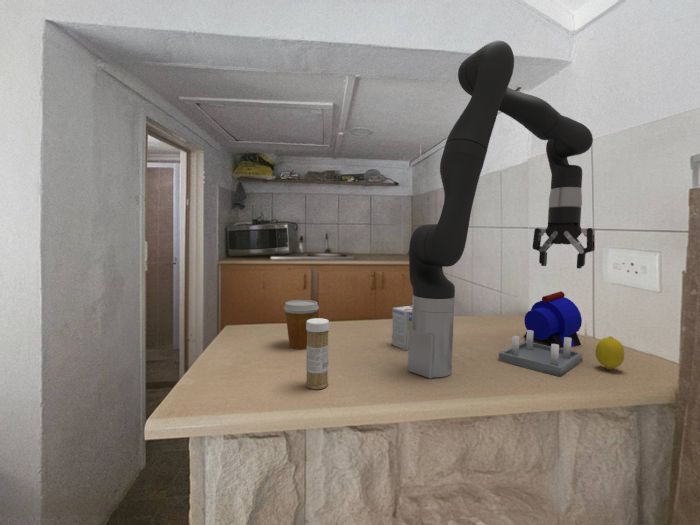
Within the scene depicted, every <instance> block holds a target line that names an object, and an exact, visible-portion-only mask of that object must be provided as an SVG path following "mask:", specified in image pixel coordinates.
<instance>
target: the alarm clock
mask: <svg viewBox="0 0 700 525" xmlns="http://www.w3.org/2000/svg"><path fill="white" fill-rule="evenodd" d="M565 296H566V294H565V292H563V291H561V290H559V291H558V292H554V293H551V294H547V295H544V296H542V297H541V300H539V301H537V302H535V303H534V304H533V305H532V306H531V308H530V310H528V311H527V312H526V313H525V316H524V326H525V329H526V331H525V334H524V335H523V338H527V330H532V331H534V333H533V339H536V340H537V341H543V340H546V341H548V342H549V343H550V344H558V345H559V348H560V349H563V348H564V337H569V338H572V341H571V348H572V347H580V346H579V345H581V346H582V343H581V341H580V338H579V336H578V332H579V331H580V329H581V327H582V321H583V319H582V314H581V312H580V311H581V310H579V308H578V306H577V305H576V303H574V301H572V300H571V299H569V298H568V297H565Z"/></svg>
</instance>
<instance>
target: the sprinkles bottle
mask: <svg viewBox="0 0 700 525" xmlns="http://www.w3.org/2000/svg"><path fill="white" fill-rule="evenodd" d="M306 330H307V349H306V358H305V359H306V360H305V363H306V364H305V366H306V368H305V370H306V382H305V385H306V387H307V388H309V389H312V390H323V389H325V388H326V387H327V386H328V385H329V381H328V377H329V376H328V374H329V373H328V372H329V371H328V370H329V331H330V321H329V319H327V318H321V317H318V318H317V317H316V318H314V319H309V320H307V322H306Z"/></svg>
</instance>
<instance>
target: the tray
mask: <svg viewBox="0 0 700 525" xmlns="http://www.w3.org/2000/svg"><path fill="white" fill-rule="evenodd" d="M526 332H527V337H526V340H524V341H523V342H520V336H519V335H512V337H511V341H512V342H511V346H510V347H509V348H506V349H504V350H502V351H499V352H498V362H504V363H506V362H507V364H510V365H514V366H519V367H521V366H522V367H523V368H526V369H530V370H532V371H537V372H540V373H545V374H548V375H552V376H556V377H560V378H561V377H562V376H563V375H566V373H568V372H569V371H571V370H572V369H573V368H575V367H576V366H577V365H579V364H580V363H582V362H583V353H582V352H578V351H573V350H572V347H571V341H572V338H569V337H564V348H559V345H558V344H551V343H550V344H551V345H545V344H541V343H537V342H534V337H533V333H534V331H532V330H527V329H526Z"/></svg>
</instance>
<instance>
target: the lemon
mask: <svg viewBox="0 0 700 525" xmlns="http://www.w3.org/2000/svg"><path fill="white" fill-rule="evenodd" d="M595 358H596V359H597V362H598V363H599V364H600V365H601V366H603V367H605V369H607V371H608V370H609V371H610V370H612V369H614V368H618V367H620V366H621V365H622V364H623V363H624V360H625V350H624V346H623V344H622V343H621V342H620V341H619V340H618V339H616V338H614V337H613V336H607V337H604V338H602V339H600V340H599V341H598V342H597V344H596V347H595Z"/></svg>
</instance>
